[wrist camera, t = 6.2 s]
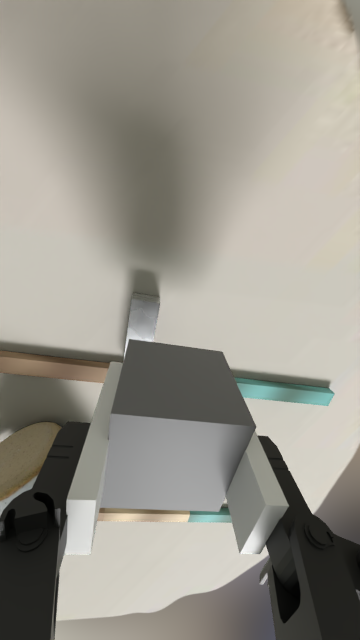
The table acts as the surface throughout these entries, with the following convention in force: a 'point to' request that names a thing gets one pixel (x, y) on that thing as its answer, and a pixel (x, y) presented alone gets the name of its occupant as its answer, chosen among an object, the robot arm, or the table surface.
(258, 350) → the table surface
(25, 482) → the ceramic mug
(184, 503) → the block
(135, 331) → the bar
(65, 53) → the table surface
